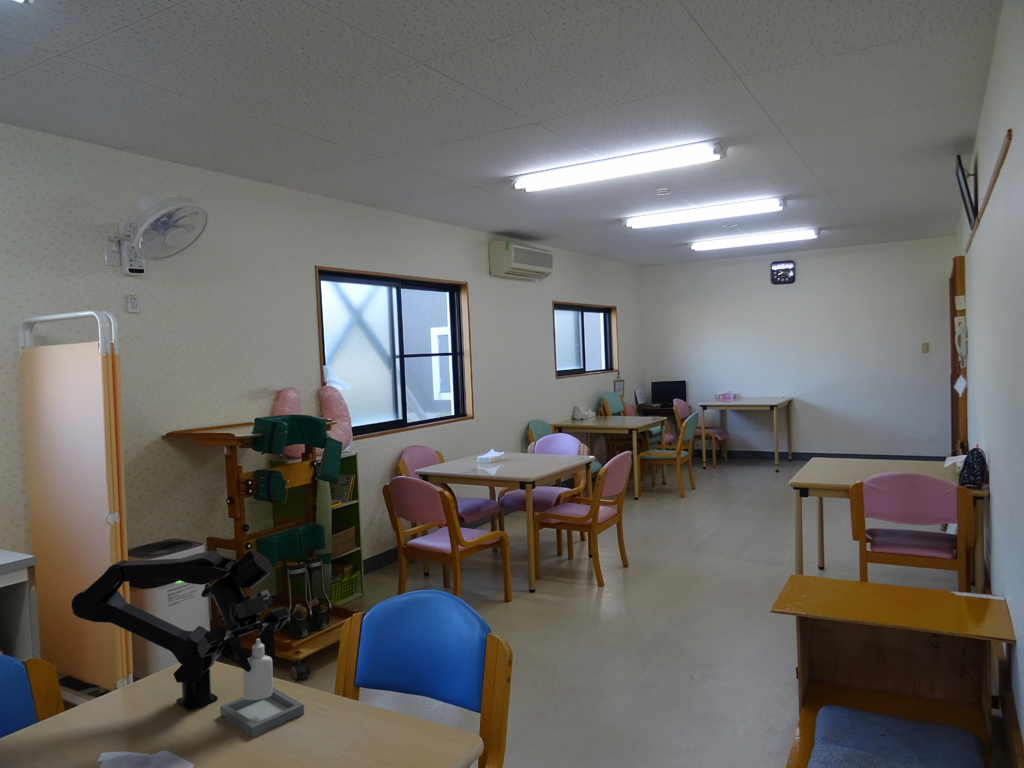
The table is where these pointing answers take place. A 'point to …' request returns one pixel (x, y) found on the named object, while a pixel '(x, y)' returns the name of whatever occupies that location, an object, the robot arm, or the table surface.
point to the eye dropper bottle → (258, 674)
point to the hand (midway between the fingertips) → (262, 665)
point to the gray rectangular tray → (262, 712)
